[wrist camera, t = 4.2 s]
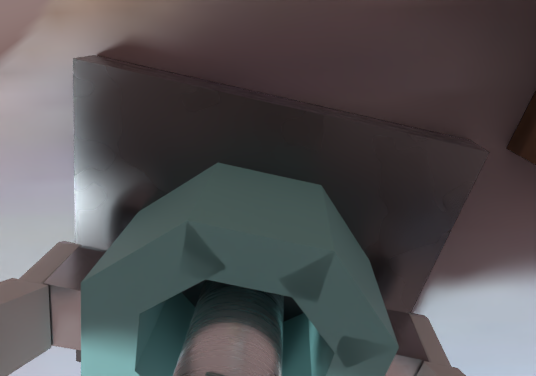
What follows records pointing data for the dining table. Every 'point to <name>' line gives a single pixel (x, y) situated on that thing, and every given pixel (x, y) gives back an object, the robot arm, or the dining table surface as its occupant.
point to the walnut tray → (526, 134)
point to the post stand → (267, 161)
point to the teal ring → (236, 277)
